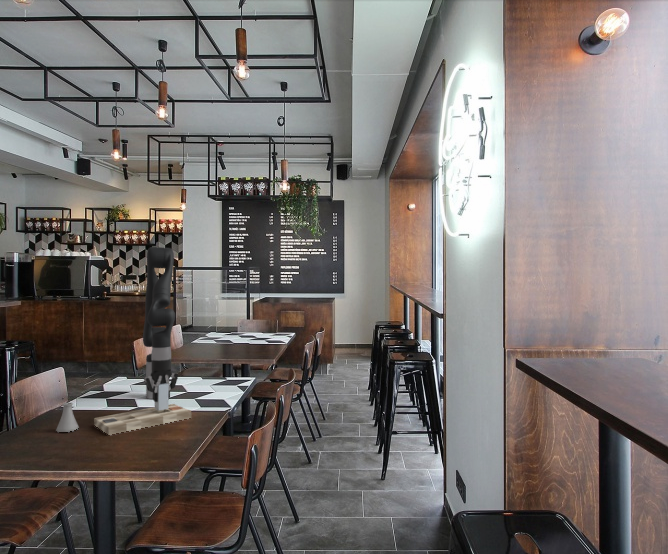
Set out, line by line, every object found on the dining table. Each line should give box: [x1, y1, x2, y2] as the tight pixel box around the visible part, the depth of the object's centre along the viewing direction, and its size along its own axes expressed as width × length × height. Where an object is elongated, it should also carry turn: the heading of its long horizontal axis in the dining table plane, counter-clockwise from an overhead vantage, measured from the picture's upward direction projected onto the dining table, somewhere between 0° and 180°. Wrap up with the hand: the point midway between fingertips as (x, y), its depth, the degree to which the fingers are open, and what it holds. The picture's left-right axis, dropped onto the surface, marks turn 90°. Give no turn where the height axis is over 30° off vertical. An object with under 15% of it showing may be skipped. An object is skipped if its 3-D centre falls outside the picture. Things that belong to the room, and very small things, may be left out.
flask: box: [55, 402, 80, 433], centre depth 184 cm, size 7×7×10 cm
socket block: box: [93, 403, 192, 436], centre depth 194 cm, size 16×32×3 cm, turn 133°
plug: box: [154, 383, 169, 410], centre depth 199 cm, size 4×4×10 cm
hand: (161, 400), depth 199 cm, fingers closed on plug, 4 cm apart
